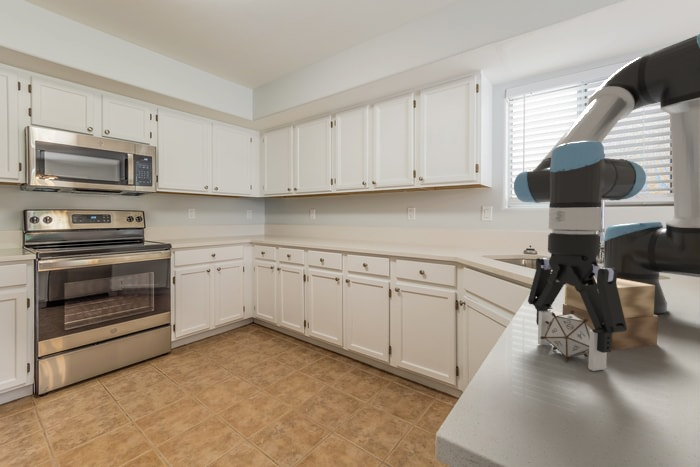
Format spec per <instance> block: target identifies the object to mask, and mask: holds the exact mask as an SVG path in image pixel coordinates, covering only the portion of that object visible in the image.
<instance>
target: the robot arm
mask: <svg viewBox="0 0 700 467" xmlns="http://www.w3.org/2000/svg"><path fill="white" fill-rule="evenodd" d="M658 103H659V104H660V110H661V111H663V112H665V113H667V114H669V117H670V118H669V119H670V120H669V121H670V140H671V141H670V142H671V165H672V166H671V167H672V168H671V169H672V184H673V185H672V186H673V189H672V190H673V208H674V209H673V210H674V213H673V214H674V215H673V216H672V217H671V218H670V219H669V220H667V221H666V223H665V225H666V226H665V227H664V225H663V223H662V222H661V221H651V222H650V221H647V222H634V223H624V224H614V225H610V226H608V227H607V228H606V230H605V232H604V239H603V243H604V244H603V264H602V265H603V267H602V266H599V264H598V262H597V257H599V254H600V253H601V252H600V250H601V236H600V234H598V233H597V232H599V231H601V229H602V201H605V200H607V201H608V200H609V201H621V200H627V199H631V198H632V197H634V196H637V194H639V193H640V192H641V191H642V189H643V188H644V186H645V184H646V182H647V174H646V172H645V170H644V168H643V166H642V165H640V164H638V163H637V162H634V161H630V160H628V159H623V158H619V159H616V158H607V157H606V154H605V148H604V145H603V143H602V142H603V141H604V140H605V138H606V137H607V136H608V135H609V134H610V132H611V131H612V129H613V128H614V127H615V126H616V125H617V124H618V122H619V121H621V120H625V118H628V116H630V114H631V113H632V112H633V111H635V110H637V109H640V108H643V107H645V106H648V105H649V106H650V105H652V104H658ZM513 191H514V194H515V196H516V198H517V199H518V200H519V201H521V202H523V203H533V204H534V203H536V204H541V203H548V204H549V208H548V209H549V210H548V211H549V212H548V230H550V231H552V232H550V233H549V234H548V235H547V238H548V239H547V252H548V253H549V254H550V257H537V258H536V259H535V273H534V276H533V281H532V284H531V287H530V292H529V295H528V298H527V301H528V302H527V303H528V304H529V305H533V307H534V308H535V310H536V325H537V328H538V330H537V345H540V346H544V345H552V344H551V343H550V342H549V341H547V340H546V339H540V337H541V336H543V337H545V334H546V331H547V328H548V324H546V322H545V321H548V322H549V323H550V321H551V320H552V319H553V317H554V316H552V315H551V314H552V313H555V312H554V310H553V307H552V305H553V303H554V302H555V300H556V299H557V297H558V295H559V293H560V292H561V291H562V289H563V287H564V286H566V284H569V285H572V286H574V287H575V289H576V290H577V291H578V292H579V293H580V295H581V297H582V299H583V302H584V304H585V306H586V309H587V311H588V313H589V316H590V318H591V320H592V323H593V325H594V327H595V329H594V330H590V341H589V352H588V366H587V367H588V370H590V371H593V372H595V371H601V370H607V356H608V353H610V352H611V351H612V350H611V343H612V333H615V332H624V331H626V330H627V327H626V323H625V318H624V314H623V310H622V306H621V301H620V297H619V293H618V288H617V284H616V281H617V278H618V279H624V280H629V281H635V282H640V283H645V284H651V285H655V297H654V315H657V314H665V313H667V311H668V302H667V299H666V298H665V294H664V292H663V289H662V285H661V284H660V283H661V282H660V274H661V273H663V274H668V275H670V274H671V275H677V276H686V277H694V278H700V33H699V34H697V35H694V36H692V37H689V38H687V39H685V40H682V41H679V42H676V43H673V44H671V45H669V46H666V47H663V48H661V49H658V50H655V51H653V52H650V53H646V54H644V55H641V56H639V57H637V58H636V59H634V60H631V61H630V62H629V63H627V64H625V65H624V66H623V67H621V68H620V69H618V70H617V71H616V72H615V73H613V74H612V75H611V76H610V77H608V79H606V80H605V81H604V82H603V83H602V84H601V85H600V86H599V87H598V88H597V89H596V90H595V91H594V92H593V94H592V95H591V96H590V97H589V99H588V102H587V107H586V109H584V110H583V112H582V113H581V114H580V115H579V116H578V118H577V119H576V120H575V121H574V122H573V124H572V125H571V126H570V127H569V128H568V129H567V130H566V132H565V133H564V134H563V135H562V137H561V138H560V139H559V140H558V141H557V143H556V144H555V145H554V146H553V147H552V149H551V150H550V151H549V152H548V153H547V154H546V155H545V157H543V159H542V160H541V162H540V163H539V164H538V165H537V166H536V167H535V168H533V169H528V170H525V171H521V172H520V173H519V174H517V175H516V176H515V179H514V182H513ZM593 276H594V277H593ZM594 278H595V279H597V283H596V281H595V279H594ZM586 284H588V285H586ZM597 289H598V291H597ZM598 292H599V293H598ZM602 323H603V324H602Z"/></svg>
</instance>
